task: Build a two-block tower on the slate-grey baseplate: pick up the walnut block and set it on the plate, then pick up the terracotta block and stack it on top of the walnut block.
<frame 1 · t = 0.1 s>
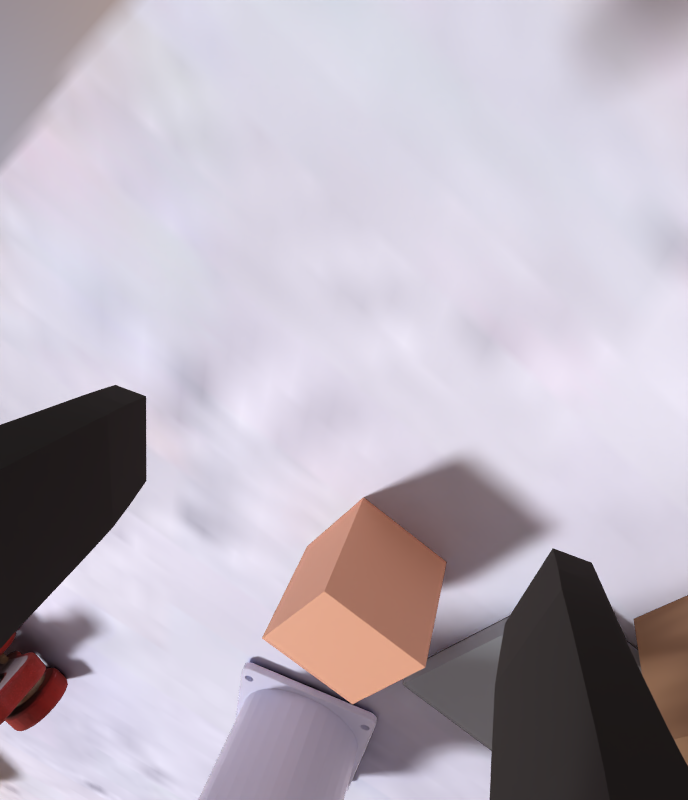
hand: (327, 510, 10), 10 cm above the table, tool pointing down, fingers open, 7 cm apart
toy fire truck: (17, 648, 41), on the table
terracotta block: (374, 552, 24), on the table
baseplate: (556, 697, 25), on the table
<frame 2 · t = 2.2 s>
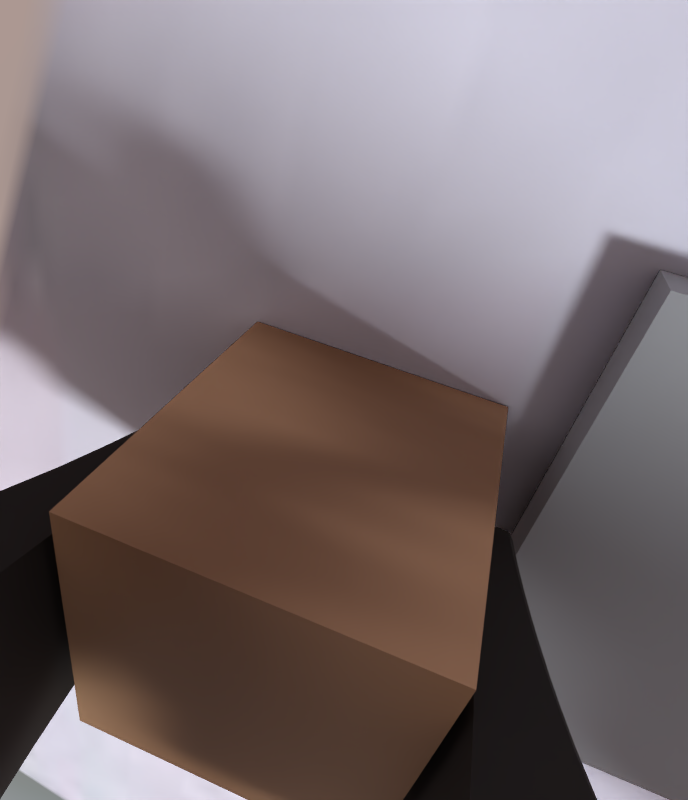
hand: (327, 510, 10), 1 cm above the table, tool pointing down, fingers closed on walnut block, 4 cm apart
walnut block: (351, 460, 11), on the table, touching gripper
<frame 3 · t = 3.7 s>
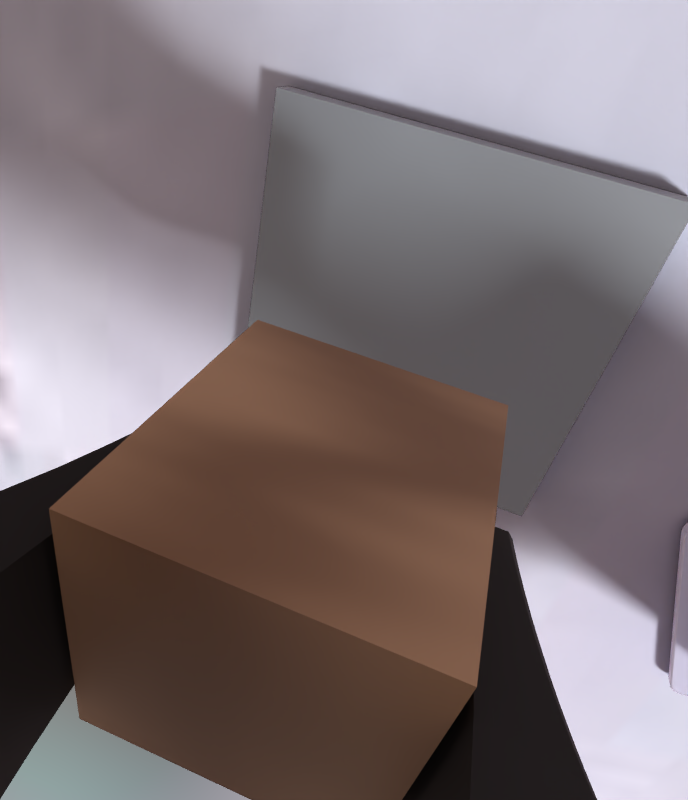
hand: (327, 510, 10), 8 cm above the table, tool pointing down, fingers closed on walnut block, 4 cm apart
baseplate: (421, 320, 16), on the table
walnut block: (351, 459, 11), point 7 cm above the table, touching gripper
when the fingers open (3 cm above the table, at t = 5.1 s): walnut block drops 1 cm, resting on baseplate.
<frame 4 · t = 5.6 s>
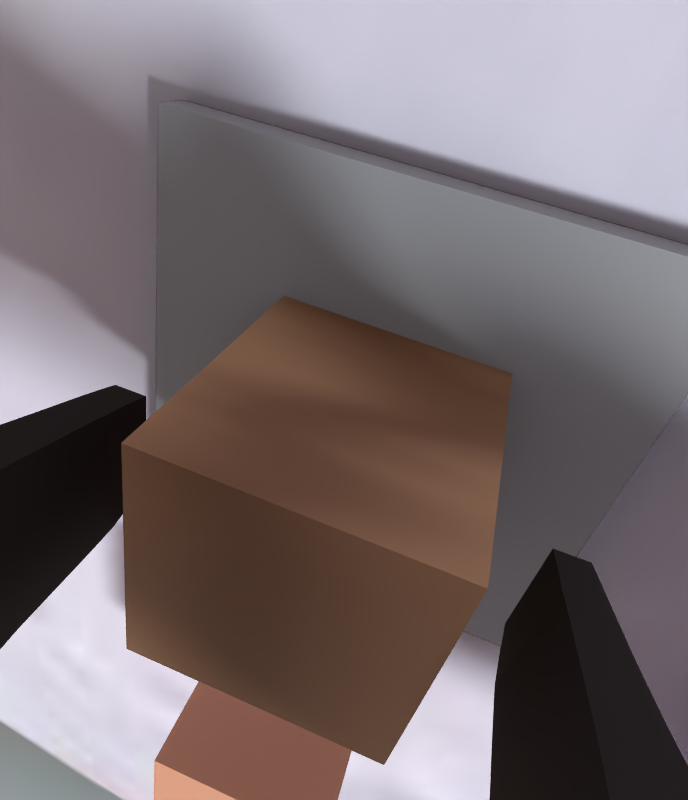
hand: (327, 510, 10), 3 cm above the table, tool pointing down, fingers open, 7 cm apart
terracotta block: (299, 664, 19), on the table
baseplate: (377, 407, 12), on the table
walnut block: (366, 426, 12), point 1 cm above the table, touching baseplate
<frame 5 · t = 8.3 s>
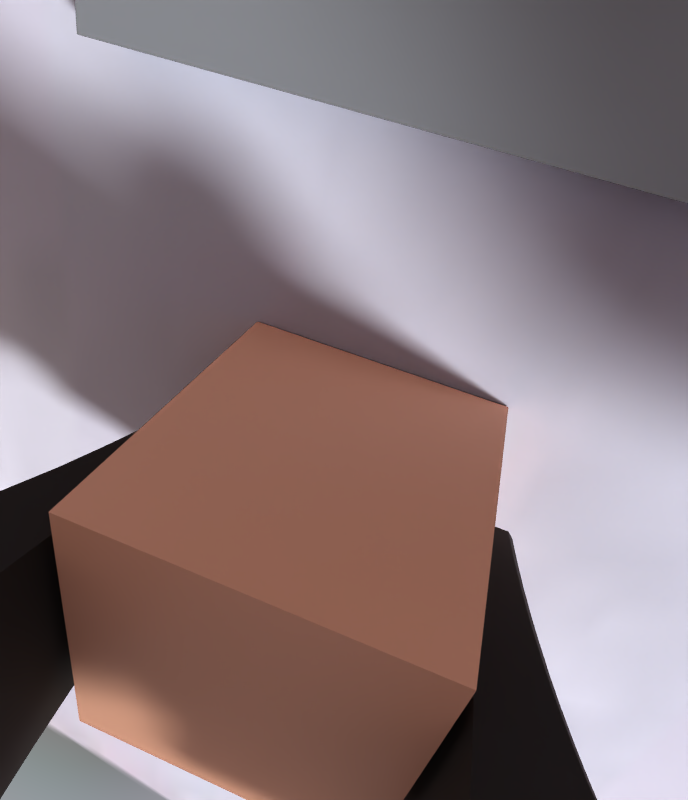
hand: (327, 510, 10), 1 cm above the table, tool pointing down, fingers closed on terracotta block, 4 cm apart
terracotta block: (351, 460, 11), on the table, touching gripper
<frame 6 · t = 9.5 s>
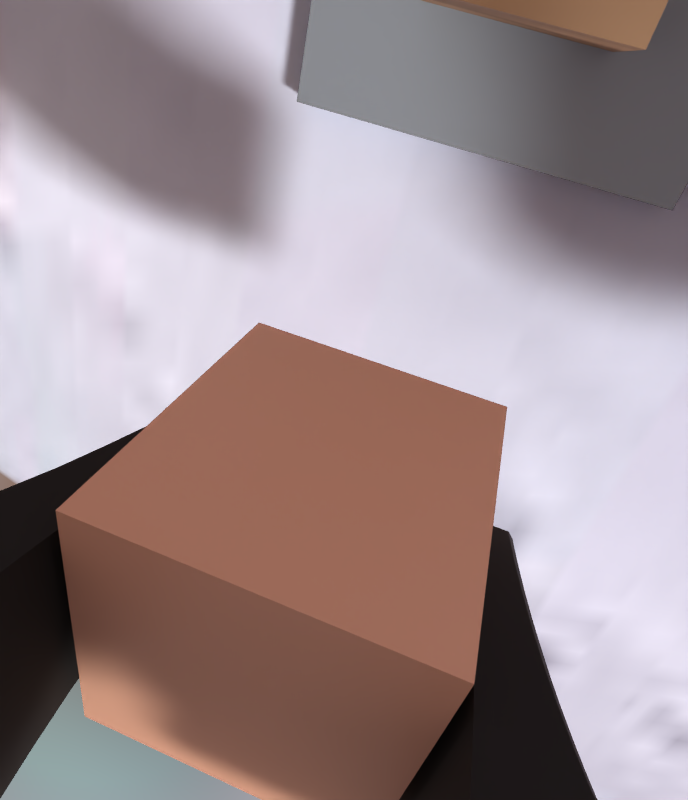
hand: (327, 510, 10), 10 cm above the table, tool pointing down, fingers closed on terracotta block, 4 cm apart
terracotta block: (351, 460, 11), point 8 cm above the table, touching gripper
when the fingers open (8 cm above the table, at t = 11.0 s): terracotta block drops 1 cm, resting on walnut block.
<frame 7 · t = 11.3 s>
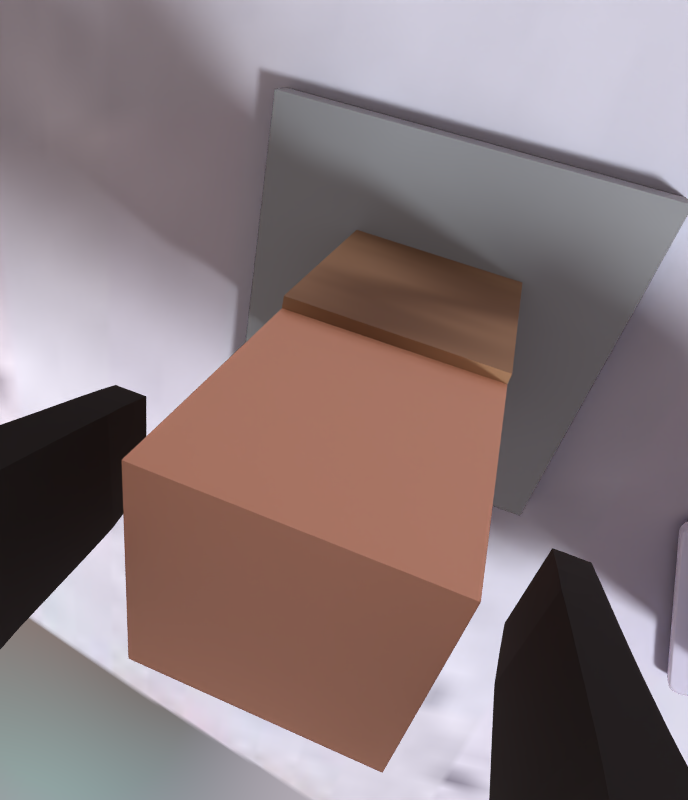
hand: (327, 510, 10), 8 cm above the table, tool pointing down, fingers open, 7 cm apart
terracotta block: (364, 435, 12), point 6 cm above the table, touching walnut block
baseplate: (419, 320, 16), on the table
walnut block: (413, 330, 16), point 1 cm above the table, touching baseplate, terracotta block
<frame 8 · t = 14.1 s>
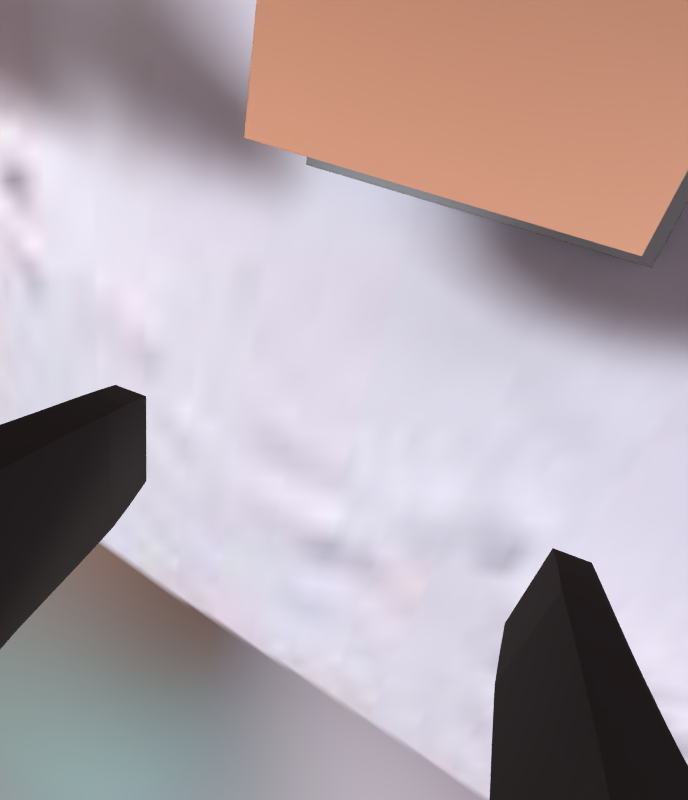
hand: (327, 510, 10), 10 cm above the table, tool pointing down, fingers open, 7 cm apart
baseplate: (543, 0, 13), on the table
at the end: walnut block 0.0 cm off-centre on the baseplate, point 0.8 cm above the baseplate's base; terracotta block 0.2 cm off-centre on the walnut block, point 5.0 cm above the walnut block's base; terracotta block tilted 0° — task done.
